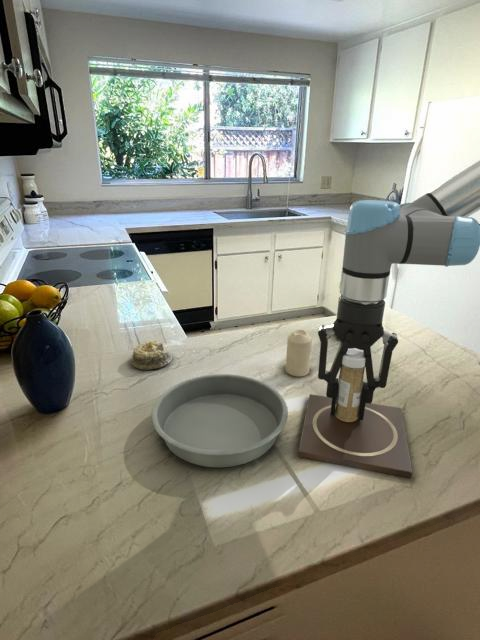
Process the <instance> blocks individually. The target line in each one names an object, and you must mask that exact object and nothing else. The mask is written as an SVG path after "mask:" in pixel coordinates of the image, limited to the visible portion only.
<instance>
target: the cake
mask: <svg viewBox="0 0 480 640" xmlns="http://www.w3.org/2000/svg"><path fill="white" fill-rule="evenodd" d="M172 360H173V355H172V353H171V352H168V351H166V350H165V347H164V344H163V342H162V341H156V340H148V341H145V342H144V343H143V342H142V343H139V344H138V345H136V346H135V348H134V349H133V352H132V360H131V366H132V367H133V368H135V369H137V370H144V371H145V370H148V371H149V370H155V369H160V368H162V367H165V366H167V365H168V364H170V363H171V362H172Z"/></svg>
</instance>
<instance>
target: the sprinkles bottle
mask: <svg viewBox="0 0 480 640" xmlns="http://www.w3.org/2000/svg"><path fill="white" fill-rule="evenodd" d="M365 370H366V368H365V358H364V353H363V350H359V349H356V348H353V349H349V348H348V351H347V353H346V354H345V355H344V356H343V360H342V364H341V367H340V369H339V374H338V378H339V379H338V390H337V399H336V400H337V402H336V410H335V416H336V417H337V418H338V419H339V420H341V421H344V422H354V421H356V420H357V419H358V417H359V406H360V401H361V393H362V386H363V382H364V375H365Z"/></svg>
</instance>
